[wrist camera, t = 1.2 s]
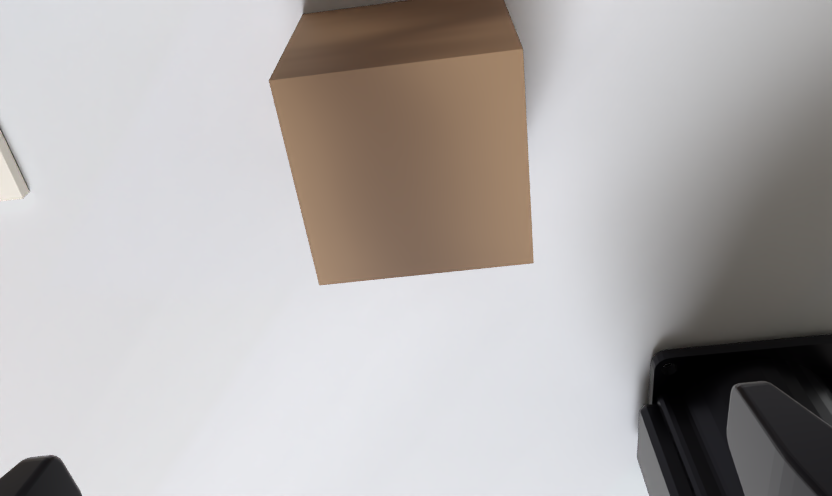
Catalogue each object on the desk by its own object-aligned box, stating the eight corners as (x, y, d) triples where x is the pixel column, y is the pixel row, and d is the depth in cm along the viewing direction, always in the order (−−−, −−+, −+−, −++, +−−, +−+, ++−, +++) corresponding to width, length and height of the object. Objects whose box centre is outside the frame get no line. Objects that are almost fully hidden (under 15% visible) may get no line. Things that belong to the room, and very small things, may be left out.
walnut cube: (498, -13, 18) (523, 48, 14) (510, 166, 21) (533, 263, 17) (303, 13, 18) (269, 80, 14) (339, 185, 21) (319, 285, 17)
